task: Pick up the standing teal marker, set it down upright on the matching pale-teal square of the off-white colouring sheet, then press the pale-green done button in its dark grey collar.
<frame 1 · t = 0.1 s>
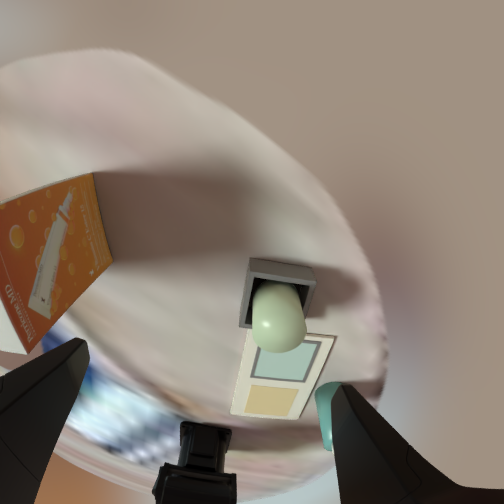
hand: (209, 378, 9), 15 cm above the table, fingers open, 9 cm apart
colouring sheet: (276, 379, 28), on the table
teal marker: (330, 392, 29), on the table
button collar: (274, 290, 24), on the table
small box: (76, 221, 23), on the table
done button: (277, 314, 21), point 4 cm above the table, slide at 0.0 cm
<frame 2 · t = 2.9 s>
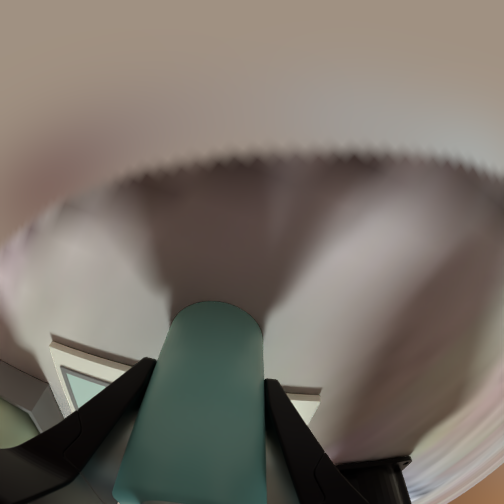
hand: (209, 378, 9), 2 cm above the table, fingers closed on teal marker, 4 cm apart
colouring sheet: (175, 424, 13), on the table
teal marker: (215, 340, 11), on the table, touching gripper
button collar: (30, 395, 14), on the table
done button: (8, 431, 10), point 4 cm above the table, slide at 0.0 cm
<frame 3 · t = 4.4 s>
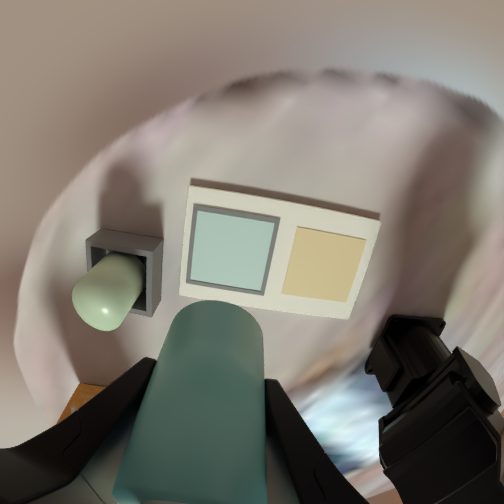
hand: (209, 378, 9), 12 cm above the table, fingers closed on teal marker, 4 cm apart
colouring sheet: (277, 257, 20), on the table
teal marker: (216, 339, 11), point 10 cm above the table, touching gripper
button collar: (130, 265, 21), on the table
small box: (117, 402, 28), on the table
done button: (111, 288, 17), point 4 cm above the table, slide at 0.0 cm
when the fingers open (3 cm above the table, at t = 6.2 s): teal marker stays where it is, resting on colouring sheet.
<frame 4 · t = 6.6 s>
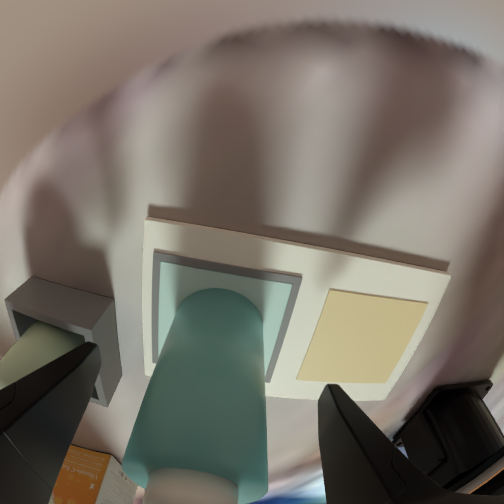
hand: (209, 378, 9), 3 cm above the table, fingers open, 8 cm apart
colouring sheet: (293, 331, 12), on the table
teal marker: (218, 326, 12), resting on colouring sheet
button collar: (75, 328, 13), on the table
small box: (92, 459, 19), on the table
done button: (42, 374, 9), point 4 cm above the table, slide at 0.0 cm
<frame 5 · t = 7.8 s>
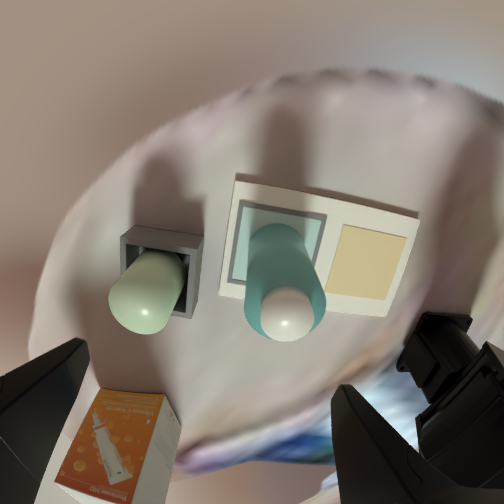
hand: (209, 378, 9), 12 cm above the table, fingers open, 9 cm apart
colouring sheet: (321, 255, 20), on the table
teal marker: (276, 249, 19), resting on colouring sheet
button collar: (166, 264, 20), on the table
small box: (141, 407, 27), on the table
done button: (149, 288, 17), point 4 cm above the table, slide at 0.0 cm
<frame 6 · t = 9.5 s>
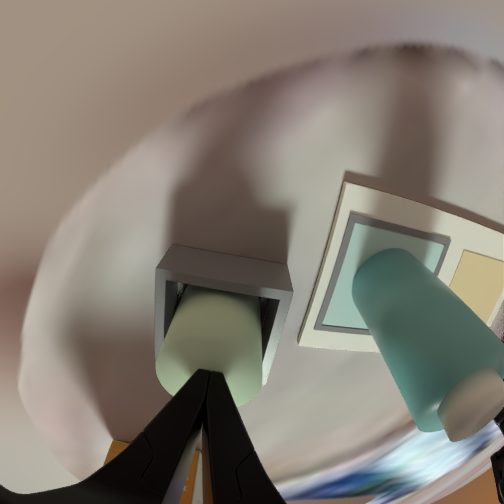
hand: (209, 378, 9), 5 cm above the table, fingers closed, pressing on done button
colouring sheet: (432, 288, 13), on the table
teal marker: (387, 284, 13), point 1 cm above the table, touching colouring sheet
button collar: (221, 303, 14), on the table
small box: (165, 459, 20), on the table
done button: (215, 338, 11), point 3 cm above the table, slide at 1.0 cm, touching gripper
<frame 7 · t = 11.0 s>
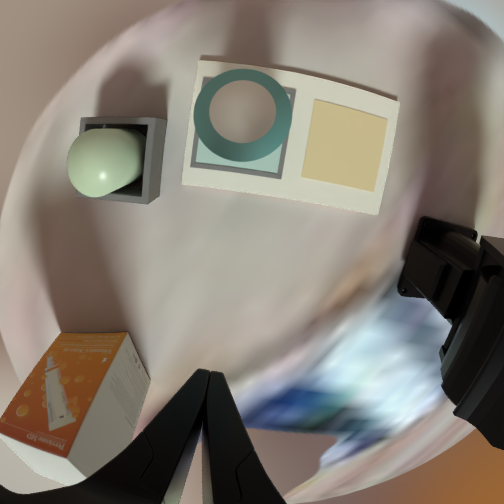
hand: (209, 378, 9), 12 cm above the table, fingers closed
colouring sheet: (295, 135, 17), on the table
teal marker: (243, 126, 16), point 1 cm above the table, touching colouring sheet
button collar: (127, 155, 17), on the table
small box: (104, 355, 24), on the table
done button: (111, 159, 15), point 2 cm above the table, slide at 1.1 cm
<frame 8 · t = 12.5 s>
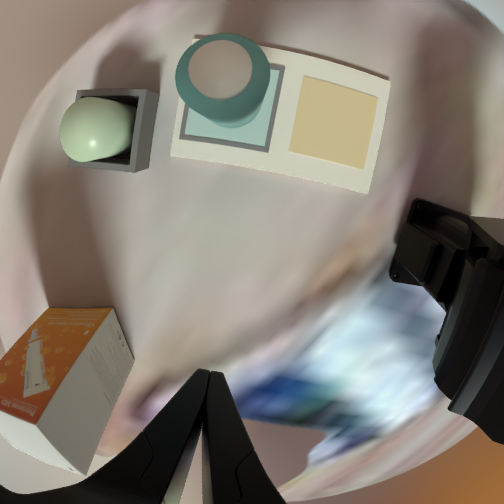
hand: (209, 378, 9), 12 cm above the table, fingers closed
colouring sheet: (283, 110, 17), on the table
teal marker: (231, 99, 16), point 1 cm above the table, touching colouring sheet
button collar: (119, 128, 17), on the table
small box: (90, 333, 24), on the table
done button: (103, 128, 15), point 2 cm above the table, slide at 1.1 cm
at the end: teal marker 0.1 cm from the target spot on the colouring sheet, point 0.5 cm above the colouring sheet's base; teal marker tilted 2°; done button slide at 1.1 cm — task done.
